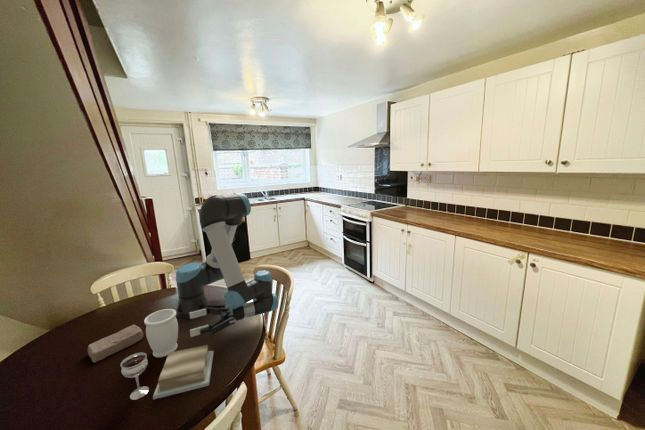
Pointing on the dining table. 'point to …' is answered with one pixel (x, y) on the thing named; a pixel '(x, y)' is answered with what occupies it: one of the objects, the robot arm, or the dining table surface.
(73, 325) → the dining table surface
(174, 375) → the plinth
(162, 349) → the jar
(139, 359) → the wineglass
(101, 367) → the dining table surface
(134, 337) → the brick
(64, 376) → the dining table surface
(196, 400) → the dining table surface
